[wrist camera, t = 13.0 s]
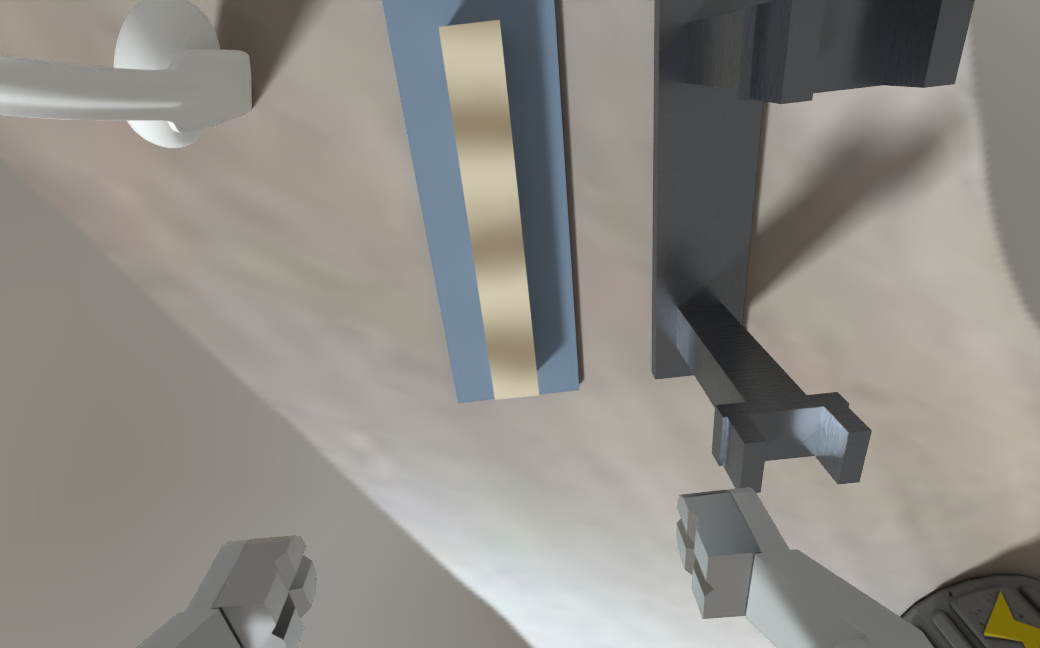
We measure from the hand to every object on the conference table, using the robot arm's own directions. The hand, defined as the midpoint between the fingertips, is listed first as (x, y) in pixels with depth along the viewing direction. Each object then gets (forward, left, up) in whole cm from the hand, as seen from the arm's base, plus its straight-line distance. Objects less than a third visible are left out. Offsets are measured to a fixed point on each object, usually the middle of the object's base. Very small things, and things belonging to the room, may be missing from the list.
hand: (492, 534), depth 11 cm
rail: (0, 0, -24) cm, 24 cm away
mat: (0, 0, -25) cm, 25 cm away
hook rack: (0, +13, -25) cm, 28 cm away
